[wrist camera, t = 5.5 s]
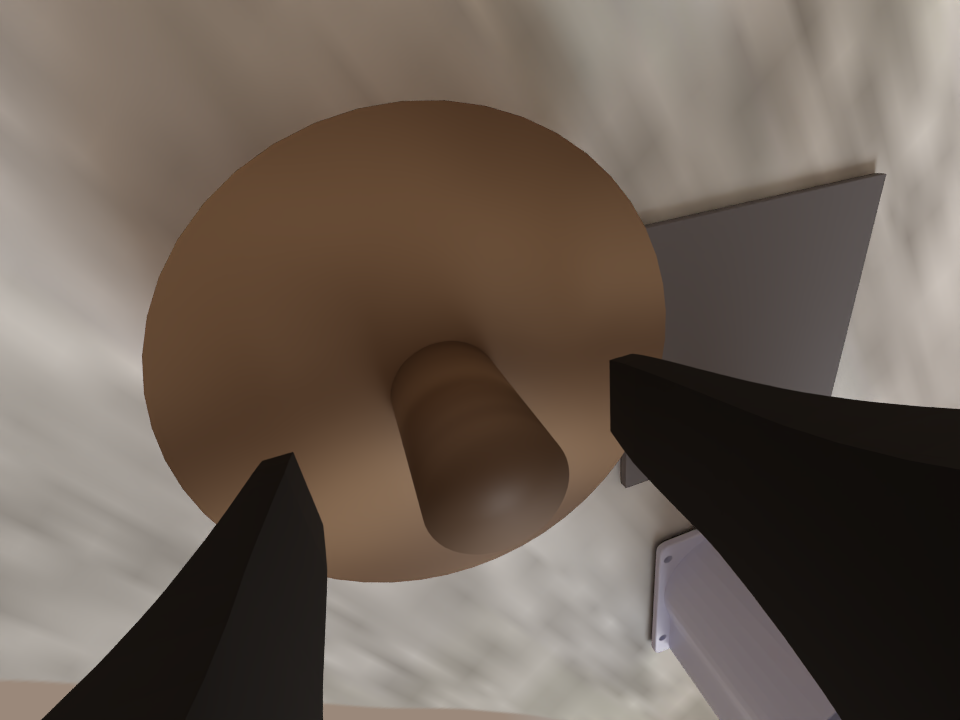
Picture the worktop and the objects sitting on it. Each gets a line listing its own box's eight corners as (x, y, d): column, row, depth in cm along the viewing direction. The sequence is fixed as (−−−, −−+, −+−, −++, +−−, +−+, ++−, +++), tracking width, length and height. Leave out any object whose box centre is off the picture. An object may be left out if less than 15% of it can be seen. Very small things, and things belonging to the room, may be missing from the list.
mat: (818, 412, 24) (826, 416, 24) (621, 482, 22) (625, 488, 22) (875, 173, 19) (886, 173, 19) (621, 230, 17) (627, 232, 16)
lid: (653, 463, 17) (769, 574, 12) (299, 616, 15) (289, 814, 10) (629, 43, 11) (841, -29, 6) (10, 198, 8) (-321, 252, 4)
